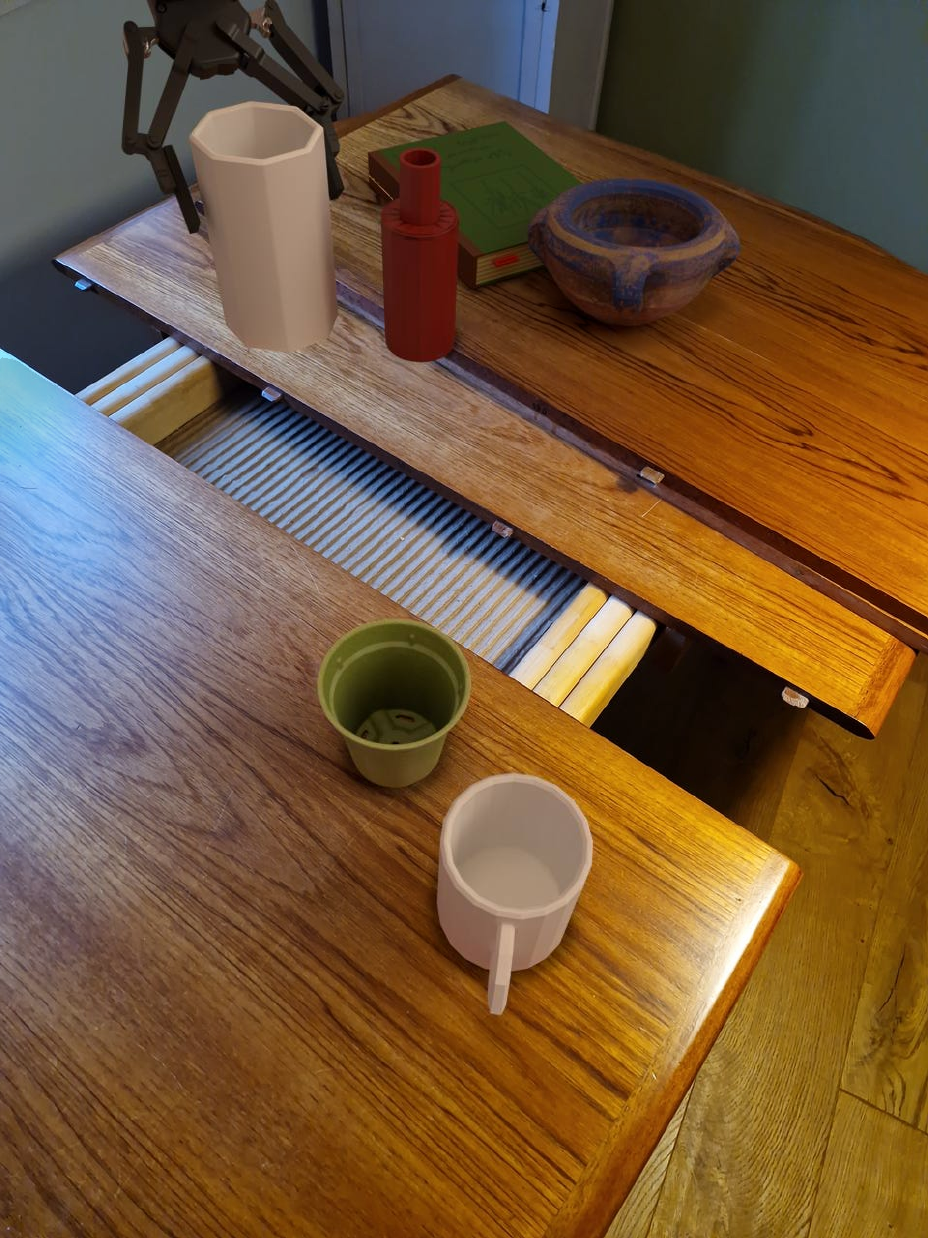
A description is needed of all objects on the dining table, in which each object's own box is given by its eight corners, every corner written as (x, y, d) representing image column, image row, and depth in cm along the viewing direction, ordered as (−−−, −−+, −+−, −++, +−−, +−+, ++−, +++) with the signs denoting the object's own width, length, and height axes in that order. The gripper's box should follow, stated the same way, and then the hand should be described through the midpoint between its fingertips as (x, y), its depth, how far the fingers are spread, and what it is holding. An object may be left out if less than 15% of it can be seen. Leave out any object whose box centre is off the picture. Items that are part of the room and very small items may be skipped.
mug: (416, 1032, 50) (416, 985, 43) (447, 834, 58) (452, 762, 50) (558, 1055, 50) (584, 1011, 42) (572, 852, 57) (596, 783, 49)
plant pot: (478, 706, 64) (485, 635, 57) (447, 827, 58) (451, 764, 51) (352, 678, 65) (344, 605, 58) (309, 794, 59) (294, 728, 52)
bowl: (630, 236, 102) (648, 146, 94) (740, 317, 93) (770, 226, 85) (501, 280, 96) (509, 188, 88) (606, 372, 87) (625, 279, 79)
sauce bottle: (378, 356, 87) (370, 171, 73) (394, 316, 91) (389, 133, 77) (446, 366, 86) (452, 182, 72) (459, 325, 91) (467, 143, 76)
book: (369, 184, 107) (367, 152, 104) (502, 151, 113) (505, 120, 110) (475, 292, 94) (477, 260, 91) (619, 249, 100) (625, 217, 97)
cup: (292, 369, 85) (265, 176, 70) (202, 328, 88) (159, 135, 74) (360, 312, 91) (349, 123, 76) (274, 276, 94) (247, 88, 80)
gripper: (304, -37, 84) (380, 195, 88) (30, 3, 76) (129, 256, 80) (322, -89, 77) (404, 165, 81) (23, -52, 69) (132, 229, 73)
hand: (268, 211), depth 80 cm, fingers open, 13 cm apart
